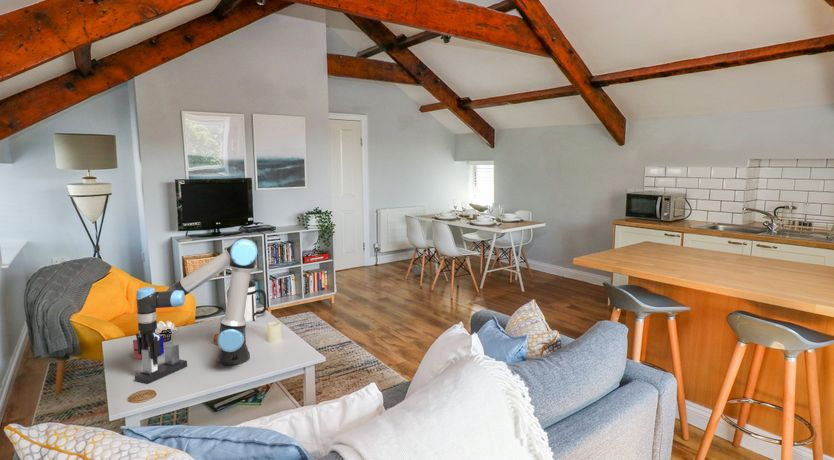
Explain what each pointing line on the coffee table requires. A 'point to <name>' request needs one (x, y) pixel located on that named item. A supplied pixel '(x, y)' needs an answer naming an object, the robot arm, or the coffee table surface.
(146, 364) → the steel peg
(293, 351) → the coffee table surface
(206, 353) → the coffee table surface
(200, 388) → the coffee table surface
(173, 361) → the seated peg
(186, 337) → the coffee table surface
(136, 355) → the puzzle cube
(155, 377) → the rail
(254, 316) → the coffee press
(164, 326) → the lotus flower
